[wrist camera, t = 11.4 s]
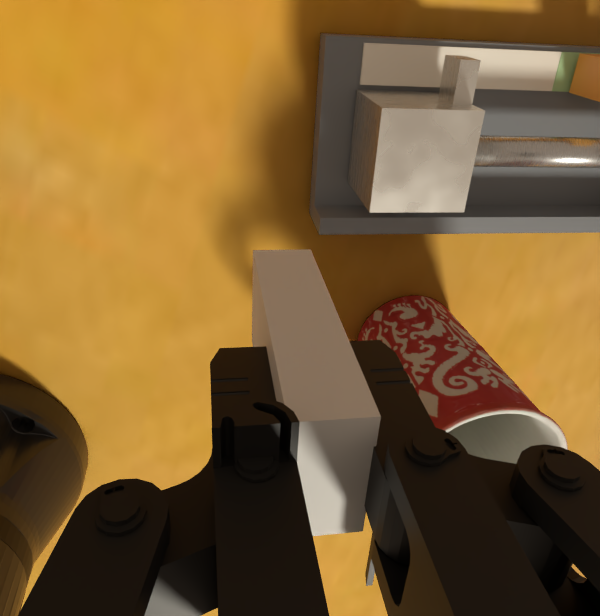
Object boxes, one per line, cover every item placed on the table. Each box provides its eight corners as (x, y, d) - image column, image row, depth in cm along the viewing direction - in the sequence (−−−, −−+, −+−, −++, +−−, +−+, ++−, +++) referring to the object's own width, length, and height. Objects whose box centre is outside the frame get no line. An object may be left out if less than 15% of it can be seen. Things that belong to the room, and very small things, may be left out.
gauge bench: (309, 212, 35) (345, 293, 26) (320, 33, 30) (370, 56, 21) (681, 211, 39) (825, 281, 30) (746, 53, 34) (943, 79, 25)
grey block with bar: (347, 181, 32) (369, 212, 28) (360, 48, 29) (387, 60, 24) (650, 183, 35) (712, 211, 31) (695, 62, 32) (771, 75, 27)
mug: (460, 265, 38) (570, 388, 27) (471, 366, 43) (569, 508, 31) (282, 317, 38) (316, 463, 27) (313, 413, 43) (353, 572, 31)
